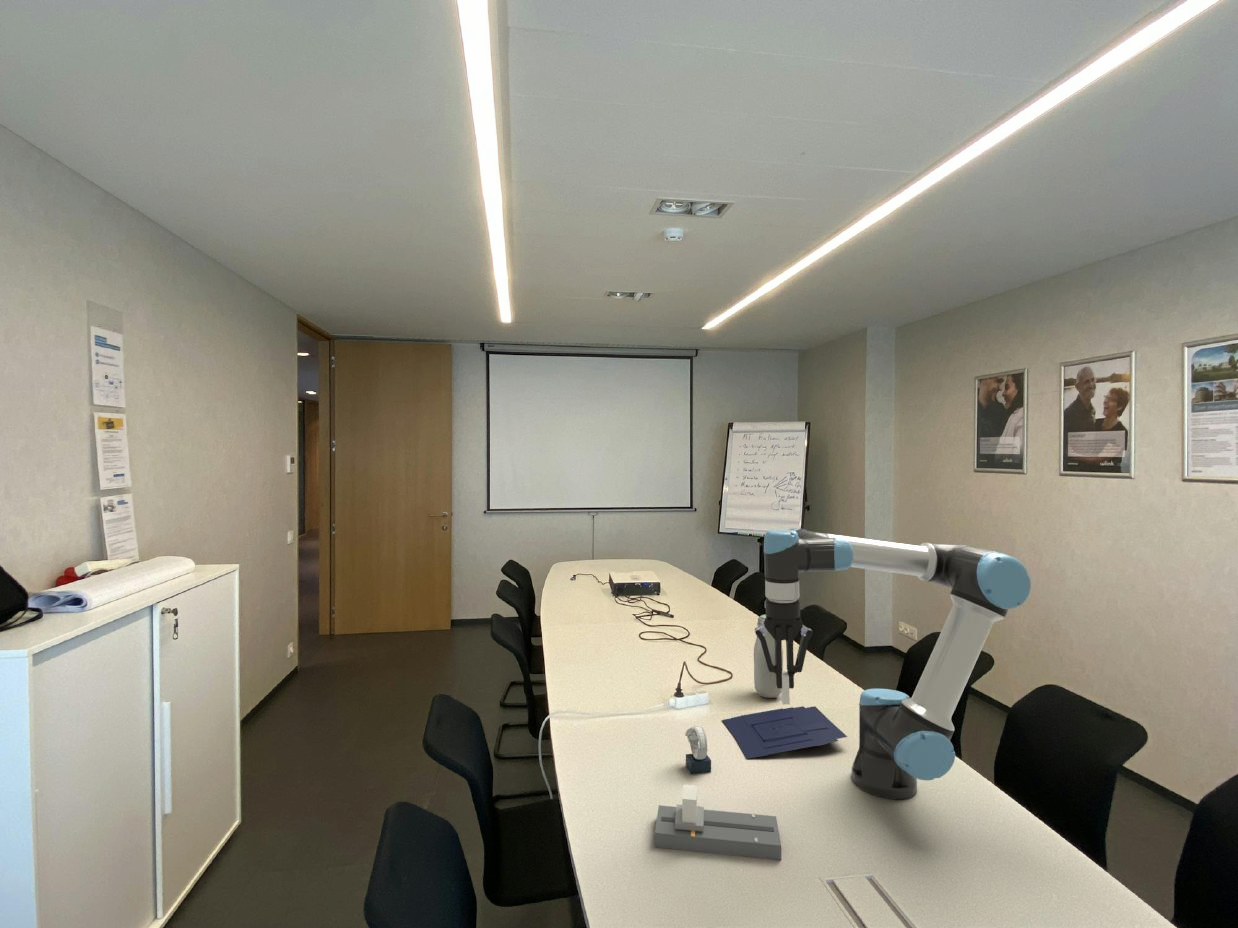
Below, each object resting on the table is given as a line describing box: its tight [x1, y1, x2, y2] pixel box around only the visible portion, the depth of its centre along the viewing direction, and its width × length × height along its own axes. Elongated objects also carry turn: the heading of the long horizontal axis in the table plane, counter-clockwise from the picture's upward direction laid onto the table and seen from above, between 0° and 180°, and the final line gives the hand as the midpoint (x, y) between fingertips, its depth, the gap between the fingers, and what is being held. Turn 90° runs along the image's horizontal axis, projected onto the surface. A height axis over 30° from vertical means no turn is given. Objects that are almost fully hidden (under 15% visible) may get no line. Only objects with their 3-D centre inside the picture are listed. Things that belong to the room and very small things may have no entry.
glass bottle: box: [753, 614, 784, 699], centre depth 205 cm, size 10×10×28 cm
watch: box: [684, 724, 712, 775], centre depth 157 cm, size 6×8×11 cm
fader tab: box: [675, 784, 705, 832], centre depth 130 cm, size 6×7×6 cm
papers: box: [721, 706, 848, 759], centre depth 176 cm, size 24×30×4 cm
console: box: [654, 804, 782, 861], centre depth 129 cm, size 26×10×3 cm, turn 81°
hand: (785, 701), depth 136 cm, fingers closed
